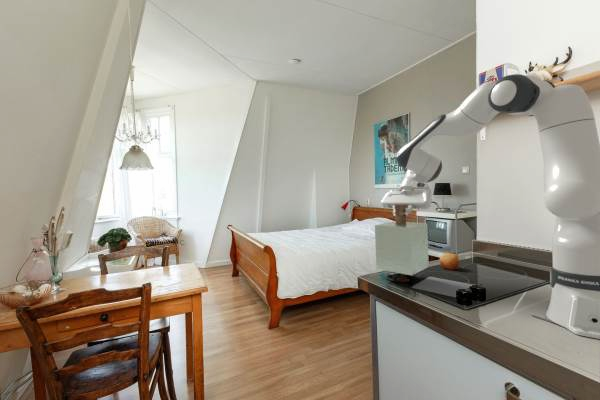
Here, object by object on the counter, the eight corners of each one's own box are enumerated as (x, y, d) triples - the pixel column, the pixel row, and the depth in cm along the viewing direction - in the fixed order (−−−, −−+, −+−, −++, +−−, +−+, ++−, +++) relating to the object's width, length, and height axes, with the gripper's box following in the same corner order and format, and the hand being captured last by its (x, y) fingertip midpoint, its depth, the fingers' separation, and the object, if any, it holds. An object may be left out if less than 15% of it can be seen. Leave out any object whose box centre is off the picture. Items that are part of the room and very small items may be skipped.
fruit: (467, 266, 126) (458, 252, 125) (454, 276, 125) (445, 262, 124) (454, 262, 134) (446, 248, 133) (442, 271, 133) (433, 258, 132)
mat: (475, 286, 105) (475, 284, 105) (460, 299, 94) (460, 298, 94) (429, 277, 118) (429, 276, 118) (411, 288, 106) (410, 287, 106)
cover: (428, 266, 115) (426, 203, 114) (412, 275, 105) (409, 206, 104) (394, 261, 126) (392, 203, 125) (376, 268, 116) (374, 205, 115)
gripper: (385, 186, 126) (374, 209, 120) (431, 183, 111) (421, 210, 105) (390, 195, 130) (380, 218, 123) (436, 194, 115) (427, 220, 108)
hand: (399, 214), depth 114 cm, fingers closed on cover, 3 cm apart
